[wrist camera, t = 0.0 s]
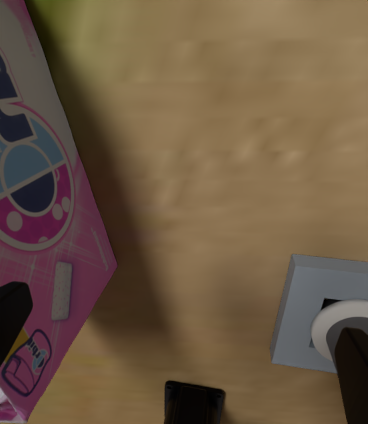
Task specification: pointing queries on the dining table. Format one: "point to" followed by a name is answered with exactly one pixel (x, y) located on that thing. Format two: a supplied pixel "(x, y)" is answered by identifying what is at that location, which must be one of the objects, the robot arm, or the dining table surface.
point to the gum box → (42, 217)
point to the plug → (337, 323)
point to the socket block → (312, 306)
